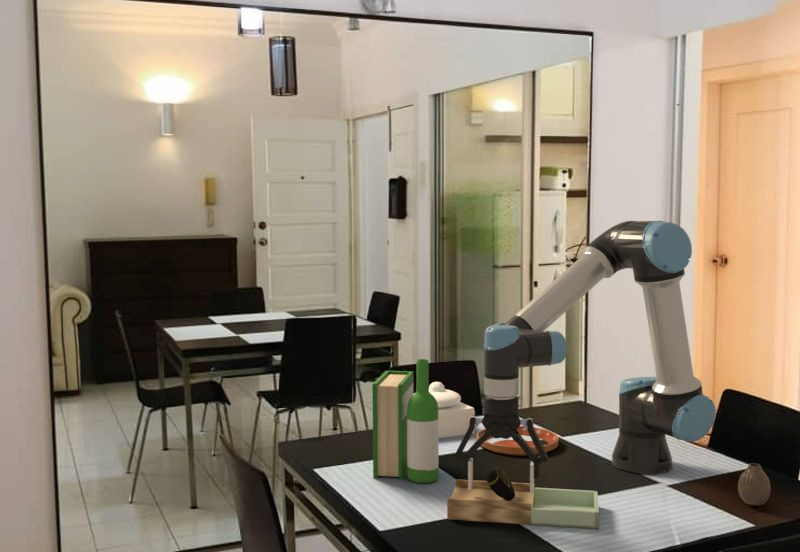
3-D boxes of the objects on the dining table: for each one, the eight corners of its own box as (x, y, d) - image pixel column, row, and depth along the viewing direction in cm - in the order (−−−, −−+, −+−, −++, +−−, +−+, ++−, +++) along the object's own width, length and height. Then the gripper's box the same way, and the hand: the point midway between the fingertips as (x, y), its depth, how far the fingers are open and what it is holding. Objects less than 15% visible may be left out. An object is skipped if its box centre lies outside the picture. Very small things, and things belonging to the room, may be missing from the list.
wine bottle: (407, 474, 223) (407, 357, 221) (438, 474, 223) (438, 357, 221) (406, 484, 215) (406, 362, 213) (438, 484, 215) (438, 362, 213)
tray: (597, 506, 199) (597, 491, 199) (598, 529, 185) (598, 513, 184) (534, 502, 202) (534, 487, 201) (531, 525, 187) (531, 508, 187)
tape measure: (506, 506, 194) (519, 495, 193) (486, 491, 191) (499, 481, 190) (498, 484, 200) (510, 474, 199) (479, 470, 197) (491, 460, 196)
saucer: (571, 444, 252) (571, 431, 252) (538, 464, 233) (538, 450, 232) (498, 433, 264) (498, 421, 264) (462, 451, 245) (462, 438, 245)
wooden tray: (534, 502, 201) (534, 483, 201) (531, 524, 188) (531, 503, 187) (456, 498, 205) (456, 479, 205) (447, 519, 191) (447, 498, 191)
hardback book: (402, 480, 219) (402, 384, 217) (373, 478, 220) (372, 383, 218) (413, 460, 236) (413, 371, 234) (386, 459, 237) (385, 370, 236)
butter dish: (420, 444, 252) (420, 389, 251) (395, 430, 268) (395, 378, 267) (474, 438, 259) (475, 384, 258) (447, 424, 276) (447, 374, 274)
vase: (767, 509, 196) (768, 471, 196) (734, 504, 200) (735, 466, 199) (772, 500, 202) (773, 463, 201) (740, 495, 206) (741, 458, 205)
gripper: (559, 394, 195) (558, 488, 197) (447, 390, 200) (447, 482, 202) (558, 401, 188) (557, 499, 190) (442, 397, 193) (442, 492, 194)
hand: (501, 490), depth 196 cm, fingers open, 13 cm apart
